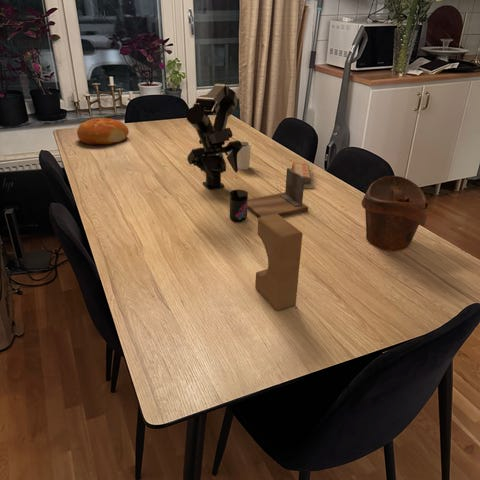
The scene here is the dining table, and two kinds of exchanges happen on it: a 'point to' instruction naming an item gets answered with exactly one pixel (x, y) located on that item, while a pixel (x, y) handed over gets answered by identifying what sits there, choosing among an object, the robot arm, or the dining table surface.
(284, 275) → the decorative block
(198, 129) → the robot arm
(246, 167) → the white cylindrical container
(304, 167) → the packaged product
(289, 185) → the shelf board
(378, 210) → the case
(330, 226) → the dining table surface
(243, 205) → the supplement container
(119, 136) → the bread
